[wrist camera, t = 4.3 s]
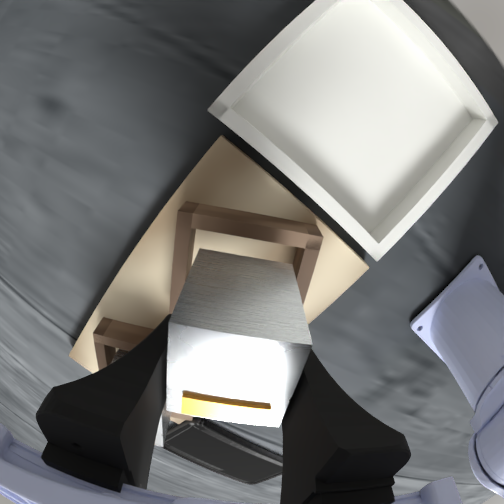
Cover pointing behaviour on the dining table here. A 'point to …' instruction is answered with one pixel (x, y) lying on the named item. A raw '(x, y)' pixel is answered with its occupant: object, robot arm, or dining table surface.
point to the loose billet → (236, 340)
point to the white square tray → (360, 114)
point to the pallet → (217, 239)
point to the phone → (222, 452)
